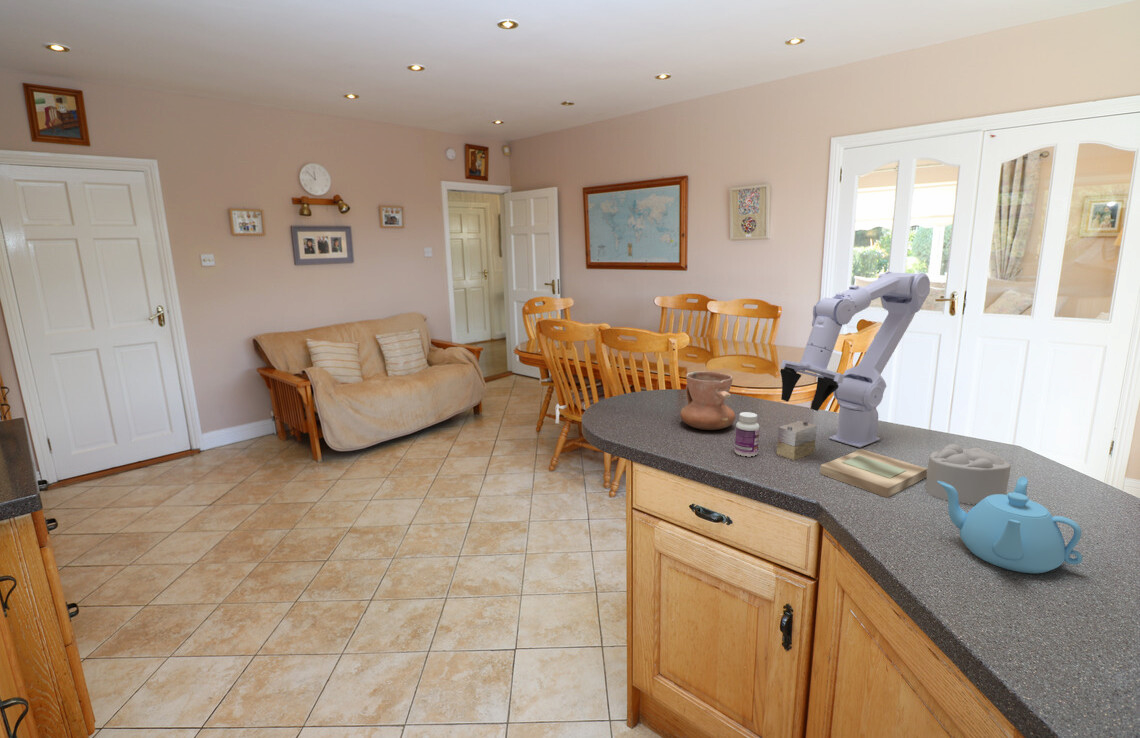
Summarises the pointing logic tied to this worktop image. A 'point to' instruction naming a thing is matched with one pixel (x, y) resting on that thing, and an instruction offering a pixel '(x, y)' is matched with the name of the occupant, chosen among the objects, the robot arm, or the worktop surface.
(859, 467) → the birch stand
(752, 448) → the pill bottle
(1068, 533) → the worktop surface
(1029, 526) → the teapot
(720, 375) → the ceramic jug
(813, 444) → the block
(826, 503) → the worktop surface
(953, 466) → the lumpy-topped squat cylinder
